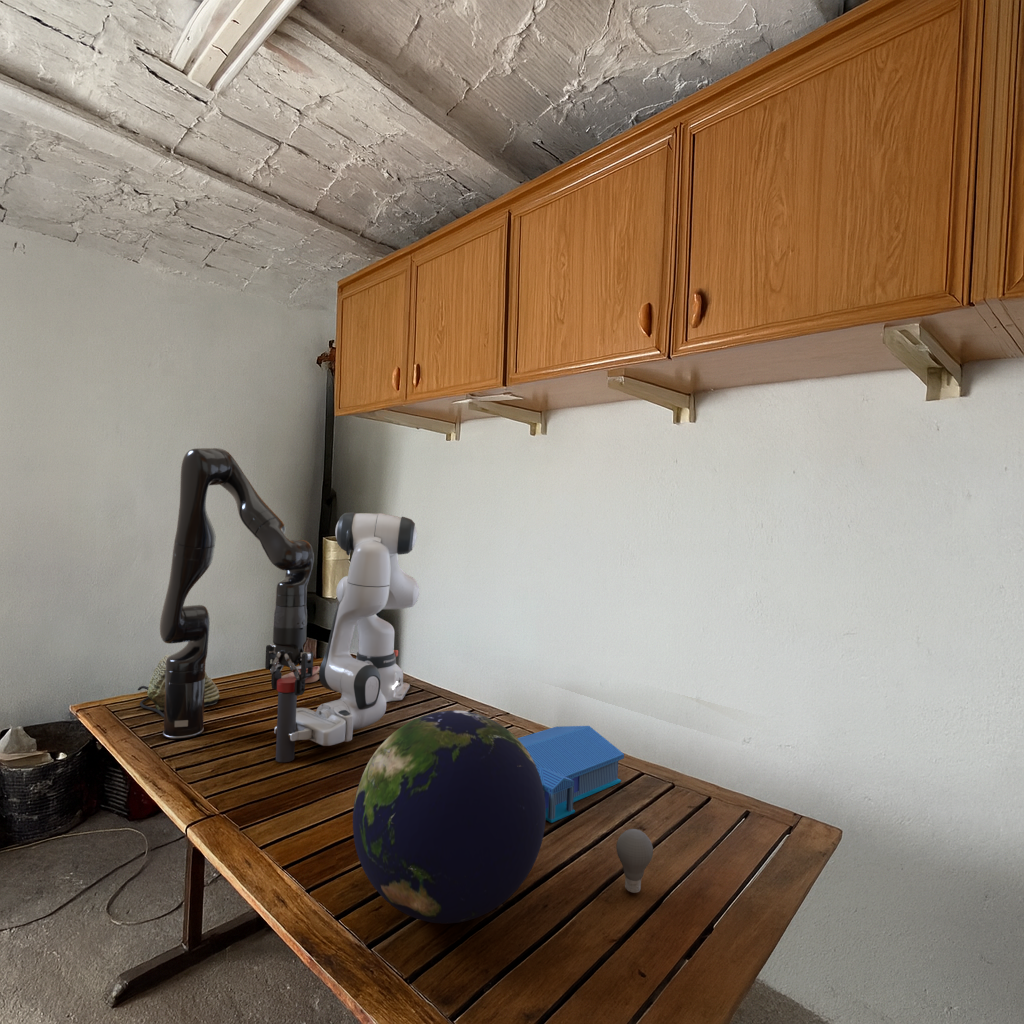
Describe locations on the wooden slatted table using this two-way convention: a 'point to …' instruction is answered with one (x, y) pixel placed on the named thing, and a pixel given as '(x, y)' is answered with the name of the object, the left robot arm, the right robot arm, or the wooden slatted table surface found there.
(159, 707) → the fossil
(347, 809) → the wooden slatted table surface
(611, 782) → the model building
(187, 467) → the left robot arm
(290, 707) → the dark gray cylinder
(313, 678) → the anatomical model
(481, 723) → the globe
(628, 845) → the light bulb
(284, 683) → the lid
